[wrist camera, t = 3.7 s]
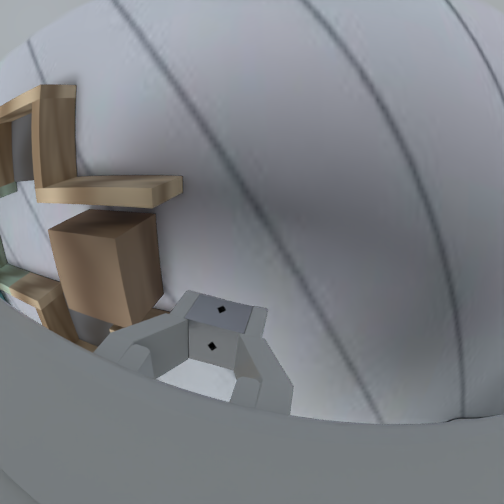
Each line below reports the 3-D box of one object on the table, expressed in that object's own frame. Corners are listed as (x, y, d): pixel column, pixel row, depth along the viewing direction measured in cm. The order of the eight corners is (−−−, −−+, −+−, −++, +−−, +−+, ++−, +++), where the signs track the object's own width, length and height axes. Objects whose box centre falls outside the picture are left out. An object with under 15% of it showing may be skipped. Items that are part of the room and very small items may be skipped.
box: (185, 60, 13) (155, 46, 9) (198, 383, 23) (184, 412, 20) (-15, 126, 17) (-38, 132, 14) (22, 314, 27) (7, 328, 24)
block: (156, 213, 17) (114, 238, 13) (164, 292, 20) (133, 330, 16) (90, 208, 18) (47, 229, 14) (103, 279, 21) (68, 308, 17)
